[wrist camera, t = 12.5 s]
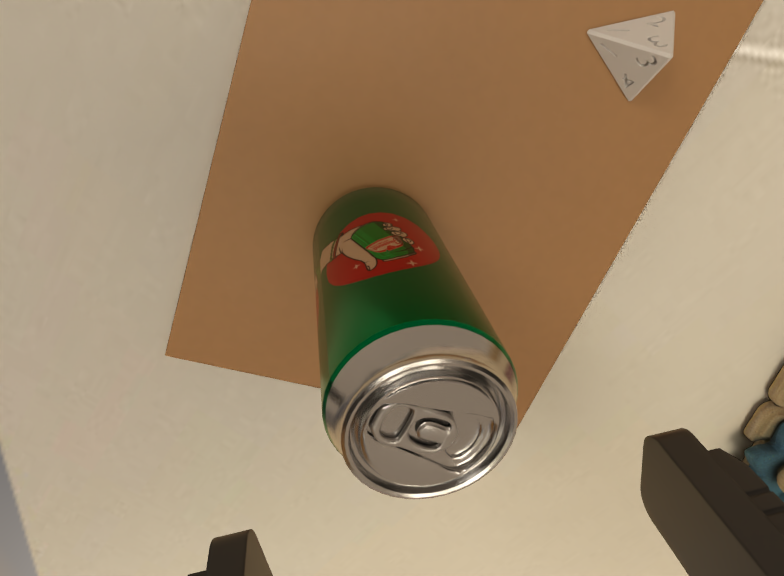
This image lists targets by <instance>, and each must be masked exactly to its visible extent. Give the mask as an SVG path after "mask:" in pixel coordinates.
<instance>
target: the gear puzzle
mask: <svg viewBox="0 0 784 576" xmlns="http://www.w3.org/2000/svg"><path fill="white" fill-rule="evenodd" d="M768 396H769V398H770V399H771V401H768V402H765V403H763V404H761V405H760V406H759V407H758V408H757V410H756V412H755V413H754V415H753V416H752V418H751V419H750V421H749V423H748V424H747V426H746V427H745V429H744V434H745V435H746V436H747V437H748V438H749V439H750V440H751V441H753V442H754V444H753V446H751V447H749V448H747V449H746V450H745V451H744V455H745V458H744V459H743V461H742V462H744V463H745V464H747V465H748V466H749V467H750V468H751V469H752V470H753V471H754V472H755V473H756V474H757V475H758V476H759V477H760V478H761V479H762V480H763V481H764V482H765V484H766V485H767V486H768V487H769V490H770V491H771V492H772V491H773V492H774V493H775V494H776V495H777V496H778V497H779V498H780V499H781V500H782V501H783V502H784V366H783V367H782V369H781V370H780V372H779V374H778V375H777V377H776V378H775V380H774V382H773V383H772V385H771V386H770V388H769V391H768Z"/></svg>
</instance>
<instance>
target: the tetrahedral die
mask: <svg viewBox="0 0 784 576" xmlns="http://www.w3.org/2000/svg"><path fill="white" fill-rule="evenodd" d="M674 29H675V12H674V10H673V11H669V12H664V13H660V14H656V15H651V16H647V17H642V18H638V19H633V20H629V21H624V22H620V23H615V24H611V25H606V26H602V27H598V28H593V29H589V30H588V31H587V34H588V36H589V37H590V39H591V41H592V42H593V44H594V46H595V47H596V49H597V50H598V52H599V54H600V55H601V57H602V59H603V60H604V62H605V64H606V65H607V67H608V68H609V70H610V72H611V73H612V75H613V77H614V78H615V80H616V82H617V83H618V85H619V86H620V88H621V90H622V91H623V93H624V95H625V96H626V98H627V100H628V101H632V100H633V99H634V98H635V97H636V96H637V95H638V94H639V92H640V91H641V90H642V89H643V88H644V87H645V86H646V85H647V84H648V83H649V82H650V81H651V80H652V79H653V78H654V77H655V76H656V75H657V74H658V73H659V71H660V70H661V69H662V68H663V67H664V66H665V65H666V64H667V63H668V62H669V61H670V60H671V59H672V58H673V48H674Z"/></svg>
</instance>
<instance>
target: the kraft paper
mask: <svg viewBox="0 0 784 576" xmlns="http://www.w3.org/2000/svg"><path fill="white" fill-rule="evenodd" d="M762 2H763V0H251V4H250V8H249V12H248V16H247V21H246V25H245V29H244V33H243V37H242V41H241V45H240V49H239V53H238V58H237V62H236V66H235V70H234V74H233V78H232V82H231V86H230V90H229V95H228V99H227V103H226V107H225V111H224V115H223V119H222V123H221V127H220V132H219V136H218V140H217V144H216V148H215V152H214V156H213V160H212V164H211V169H210V173H209V177H208V181H207V185H206V189H205V193H204V197H203V201H202V206H201V210H200V214H199V218H198V222H197V226H196V230H195V234H194V238H193V243H192V247H191V251H190V255H189V259H188V263H187V267H186V271H185V275H184V280H183V284H182V288H181V292H180V296H179V300H178V304H177V308H176V312H175V317H174V321H173V325H172V329H171V333H170V337H169V341H168V345H167V349H166V354H165V356H170V357H175V358H180V359H184V360H189V361H194V362H199V363H203V364H208V365H213V366H218V367H222V368H227V369H232V370H237V371H241V372H246V373H251V374H256V375H260V376H265V377H270V378H275V379H279V380H284V381H289V382H294V383H298V384H303V385H308V386H313V387H317V388H321V385H320V367H319V350H318V333H317V316H316V298H315V281H314V264H313V237H314V232H315V229H316V226H317V224H318V222H319V220H320V218H321V216H322V215H323V214H324V212H325V211H326V210H327V209H328V208H329V207H330V206H331V205H332V204H333V203H334V202H335V201H336V200H338V199H339V198H341V197H342V196H344V195H346V194H348V193H350V192H352V191H356V190H359V189H363V188H369V187H383V188H390V189H393V190H397V191H400V192H402V193H404V194H406V195H408V196H409V197H411V198H412V199H414V200H415V201H416V202H417V203H418V204H419V205H420V206H421V207H422V208H423V209H424V211H425V212H426V214H427V215H428V217H429V219H430V220H431V222H432V224H433V225H434V227H435V229H436V231H437V232H438V234H439V236H440V237H441V239H442V241H443V243H444V244H445V246H446V248H447V250H448V251H449V253H450V255H451V256H452V258H453V260H454V262H455V263H456V265H457V267H458V268H459V270H460V272H461V274H462V275H463V277H464V279H465V280H466V282H467V284H468V286H469V287H470V289H471V291H472V292H473V294H474V296H475V298H476V299H477V301H478V303H479V304H480V306H481V308H482V310H483V311H484V313H485V315H486V316H487V318H488V320H489V322H490V323H491V325H492V327H493V328H494V330H495V332H496V334H497V335H498V337H499V339H500V341H501V342H502V344H503V346H504V347H505V349H506V351H507V353H508V354H509V356H510V358H511V360H512V362H513V365H514V367H515V370H516V374H517V379H518V396H517V402H516V406H517V414H518V423H517V427H518V425H519V424H520V422H521V420H522V418H523V417H524V415H525V413H526V411H527V410H528V408H529V406H530V405H531V403H532V401H533V399H534V398H535V396H536V394H537V392H538V391H539V389H540V387H541V385H542V384H543V382H544V380H545V379H546V377H547V375H548V373H549V372H550V370H551V368H552V366H553V365H554V363H555V361H556V359H557V358H558V356H559V354H560V352H561V351H562V349H563V347H564V346H565V344H566V342H567V340H568V339H569V337H570V335H571V333H572V332H573V330H574V328H575V326H576V325H577V323H578V321H579V320H580V318H581V316H582V314H583V313H584V311H585V309H586V307H587V306H588V304H589V302H590V300H591V299H592V297H593V295H594V293H595V292H596V290H597V288H598V287H599V285H600V283H601V281H602V280H603V278H604V276H605V274H606V273H607V271H608V269H609V267H610V266H611V264H612V262H613V261H614V259H615V257H616V255H617V254H618V252H619V250H620V248H621V247H622V245H623V243H624V241H625V240H626V238H627V236H628V234H629V233H630V231H631V229H632V228H633V226H634V224H635V222H636V221H637V219H638V217H639V215H640V214H641V212H642V210H643V208H644V207H645V205H646V203H647V202H648V200H649V198H650V196H651V195H652V193H653V191H654V189H655V188H656V186H657V184H658V182H659V181H660V179H661V177H662V176H663V174H664V172H665V170H666V169H667V167H668V165H669V163H670V162H671V160H672V158H673V156H674V155H675V153H676V151H677V149H678V148H679V146H680V144H681V143H682V141H683V139H684V137H685V136H686V134H687V132H688V130H689V129H690V127H691V125H692V123H693V122H694V120H695V118H696V117H697V115H698V113H699V111H700V110H701V108H702V106H703V104H704V103H705V101H706V99H707V97H708V96H709V94H710V92H711V90H712V89H713V87H714V85H715V84H716V82H717V80H718V78H719V77H720V75H721V73H722V71H723V70H724V68H725V66H726V64H727V63H728V61H729V59H730V58H731V56H732V54H733V52H734V51H735V49H736V47H737V45H738V44H739V42H740V40H741V38H742V37H743V35H744V33H745V32H746V30H747V28H748V26H749V25H750V23H751V21H752V19H753V18H754V16H755V14H756V12H757V11H758V9H759V7H760V5H761V4H762ZM673 10H674V12H675V29H674V48H673V58H672V59H671V60H670V61H669V62H668V63H667V64H666V65H665V66H664V67H663V68H662V69H661V70H660V71H659V73H658V74H657V75H656V76H655V77H654V78H653V79H652V80H651V81H650V82H649V83H648V84H647V85H646V86H645V87H644V88H643V89H642V90H641V91H640V92H639V94H638V95H637V96H636V97H635V98H634V99H633V100H632V101H628V100H627V98H626V96H625V95H624V93H623V91H622V90H621V88H620V86H619V85H618V83H617V82H616V80H615V78H614V77H613V75H612V73H611V72H610V70H609V68H608V67H607V65H606V64H605V62H604V60H603V59H602V57H601V55H600V54H599V52H598V50H597V49H596V47H595V46H594V44H593V42H592V41H591V39H590V37H589V36H588V34H587V31H588V30H589V29H593V28H598V27H602V26H606V25H611V24H615V23H620V22H624V21H629V20H633V19H638V18H642V17H647V16H651V15H656V14H660V13H664V12H669V11H673ZM516 429H517V428H516Z"/></svg>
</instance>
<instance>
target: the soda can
mask: <svg viewBox="0 0 784 576" xmlns="http://www.w3.org/2000/svg"><path fill="white" fill-rule="evenodd" d="M313 264H314V281H315V298H316V316H317V333H318V350H319V367H320V385H321V402H322V418H323V422H324V427H325V430H326V433H327V435H328V437H329V439H330V441H331V443H332V444H333V445H334V447H335V448H336V450H337V451H338V452H339V453H340V454H341V455H342V456H343V458H344V460H345V462H346V464H347V466H348V467H349V469H350V470H351V472H352V473H353V474H354V475H355V476H356V477H357V478H358V479H359V480H360V481H361V482H362V483H364V484H365V485H367V486H368V487H369V488H371V489H373V490H375V491H378V492H380V493H382V494H386V495H389V496H392V497H398V498H404V499H424V498H433V497H438V496H443V495H447V494H450V493H453V492H456V491H458V490H461V489H463V488H465V487H467V486H469V485H471V484H473V483H475V482H476V481H478V480H480V479H481V478H482V477H484V476H485V475H486V474H488V473H489V472H490V471H491V470H492V469H493V468H494V467H495V466H496V465H497V464H498V463H499V462H500V461H501V460H502V458H503V457H504V456H505V454H506V453H507V451H508V449H509V448H510V446H511V444H512V442H513V439H514V436H515V434H516V428H517V423H518V414H517V406H516V402H517V396H518V379H517V374H516V370H515V367H514V365H513V362H512V360H511V358H510V356H509V354H508V353H507V351H506V349H505V347H504V346H503V344H502V342H501V341H500V339H499V337H498V335H497V334H496V332H495V330H494V328H493V327H492V325H491V323H490V322H489V320H488V318H487V316H486V315H485V313H484V311H483V310H482V308H481V306H480V304H479V303H478V301H477V299H476V298H475V296H474V294H473V292H472V291H471V289H470V287H469V286H468V284H467V282H466V280H465V279H464V277H463V275H462V274H461V272H460V270H459V268H458V267H457V265H456V263H455V262H454V260H453V258H452V256H451V255H450V253H449V251H448V250H447V248H446V246H445V244H444V243H443V241H442V239H441V237H440V236H439V234H438V232H437V231H436V229H435V227H434V225H433V224H432V222H431V220H430V219H429V217H428V215H427V214H426V212H425V211H424V209H423V208H422V207H421V206H420V205H419V204H418V203H417V202H416V201H415V200H414V199H412V198H411V197H409V196H408V195H406V194H404V193H402V192H400V191H397V190H393V189H390V188H383V187H369V188H363V189H359V190H356V191H352V192H350V193H348V194H346V195H344V196H342V197H341V198H339V199H338V200H336V201H335V202H334V203H333V204H332V205H331V206H330V207H329V208H328V209H327V210H326V211H325V212H324V214H323V215H322V216H321V218H320V220H319V222H318V224H317V226H316V229H315V232H314V237H313Z"/></svg>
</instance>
